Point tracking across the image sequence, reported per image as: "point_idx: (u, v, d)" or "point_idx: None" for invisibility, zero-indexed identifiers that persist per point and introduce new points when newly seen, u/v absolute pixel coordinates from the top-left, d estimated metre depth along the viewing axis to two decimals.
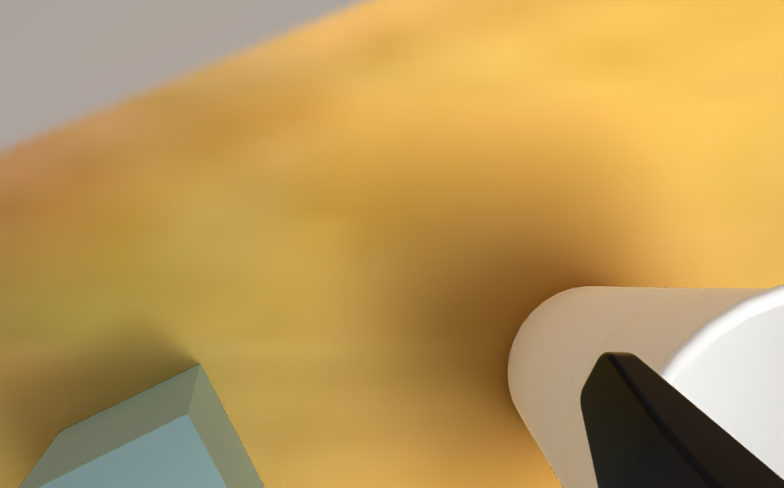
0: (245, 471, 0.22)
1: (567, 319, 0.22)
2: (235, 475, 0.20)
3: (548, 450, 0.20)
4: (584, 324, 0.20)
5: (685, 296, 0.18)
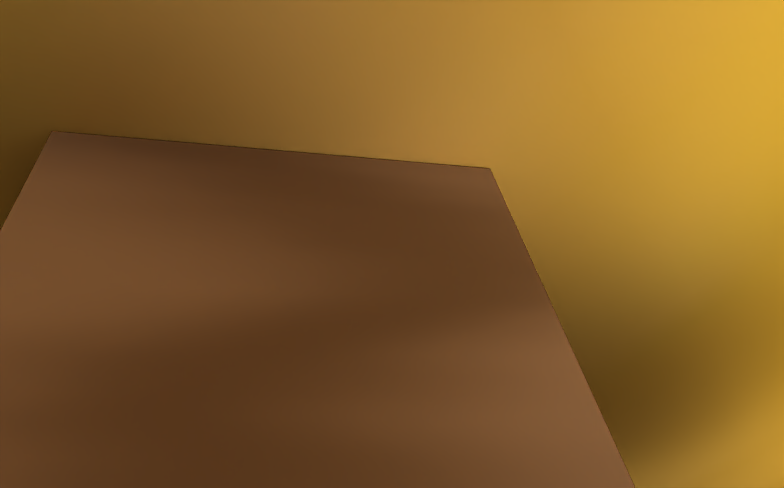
0: None
1: None
2: None
3: None
4: None
5: None
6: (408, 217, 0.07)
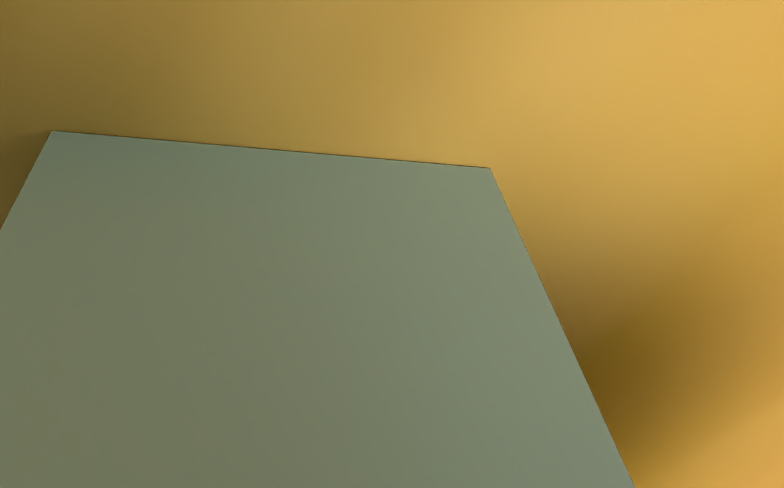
0: (395, 251, 0.07)
1: None
2: (338, 376, 0.05)
3: None
4: None
5: None
6: None
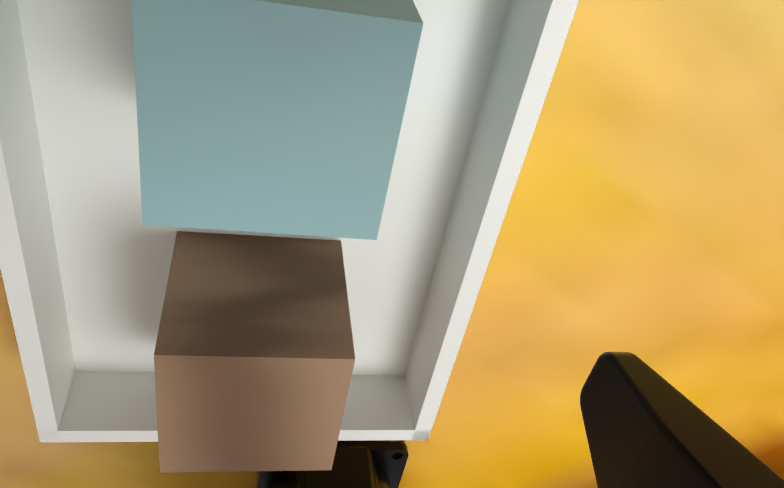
0: None
1: None
2: None
3: None
4: None
5: None
6: (303, 261, 0.20)
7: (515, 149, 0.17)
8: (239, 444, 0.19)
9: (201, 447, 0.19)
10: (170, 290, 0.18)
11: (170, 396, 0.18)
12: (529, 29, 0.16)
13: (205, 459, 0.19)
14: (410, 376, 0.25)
